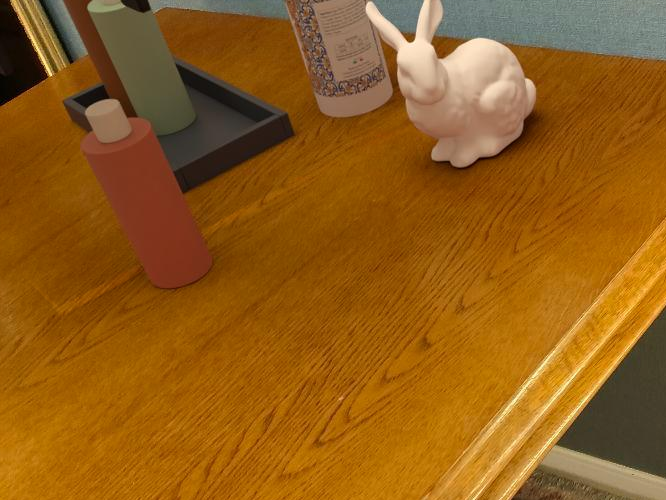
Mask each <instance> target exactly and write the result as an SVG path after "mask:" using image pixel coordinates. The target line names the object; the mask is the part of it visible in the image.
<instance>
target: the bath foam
mask: <svg viewBox="0 0 666 500" xmlns="http://www.w3.org/2000/svg"><path fill="white" fill-rule="evenodd" d="M283 1H284V4H285V7H286V10H287V13H288V17H289V20H290V23H291V26H292V29H293V32H294V35H295V36H294V37H295V39H296V41H297V45H298V48H299V51H300V54H301V57H302V60H303V63H304V67H305V70H306V72H307V75H308V79H309V83H310V85H311V89H312V91H313V94H314V97H315V99H316V103H317V107H318V109H319V111H320V112H321V113H322V114H324V116H325V115H326V116H327V117H328V116H329V117H332V118H349V117H354V116H355V117H356V116H360V115H364V114H367V113H369V112H371V111H374V110H377V109H379V108H380V107H381V106H383V105H385V104H386V103H387V102H388V101H389V100H390V99H391V97H392V96H393V92H394V89H393V85H392V81H391V77H390V74H389V70H388V65H387V62H386V57H385V54H384V51H383V47H382V43H381V39H380V38H381V37H380V34H379V32H378V29H377V28H376V27H375V25H374V24H373V23H372V22H371V20H370V19H369V17H368V16H367V14H366V11H365V10H366V5H367V3H368V2H371V1H370V0H283Z"/></svg>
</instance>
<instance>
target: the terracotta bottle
mask: <svg viewBox="0 0 666 500" xmlns="http://www.w3.org/2000/svg"><path fill="white" fill-rule="evenodd" d="M85 115H86V117H87V119H88V121H89V123H90V125H91V127H92V129H93V131H91V132H90V133H89V132H88V134H87V135H85V136H84V137H83V138H82V140H81V143H80V149H81V151H82V154H83V155H84V157H85V159H86V161H87V163H88V165H89V166H90V168H91V170H92V173H93V174H94V176H95V178H96V180H97V182H98V184H99V186H100V188H101V190H102V191H103V193H104V196H105V198H106V199H107V201H108V203H109V204H110V207H111V209H112V210H113V212H114V214H115V216H116V218H117V220H118V222H119V225H120V226H121V228H122V230H123V231H124V233H125V235H126V238H127V239H128V241H129V243H130V245H131V246H132V249H133V250H134V252H135V255H136V256H137V258H138V260H139V262H140V264H141V266H142V268H143V270H144V272H145V274H146V275H147V277H148V279H149V281H150V283H151V284H152V285H153V286H154V287H157V288H160V289H166V290H167V289H177V288H181V287H184V286H188V285H190V284H193V283H194V282H196V281H198V280H200V279H201V278H202V277H204V276H205V275H206V274H207V273H208V272H209V271H210V270H211V268H212V267H213V256H212V254H211V252H210V250H209V248H208V246H207V243H206V242H205V239H204V237H203V235H202V233H201V230H200V228H199V226H198V224H197V222H196V220H195V217H194V215H193V213H192V211H191V208H190V207H189V204H188V202H187V200H186V197H185V196H184V195H185V194H184V193H182V191H181V189H180V187H179V185H178V182H177V180H176V178H175V176H174V174H173V172H172V169H171V167H170V165H169V163H168V161H167V158H166V156H165V154H164V152H163V150H162V148H161V145H160V143H159V141H158V139H157V137H156V134H155V132H154V130H153V128H152V126H151V124H150V122H149V121H148V120H146V119H143V118H127V117H126V115H125V113H124V111H123V109H122V107H121V105H120V102H119V101H118V100H115V99H107V100H102V101H99V102H96V103H94V104H92V105H91V106H89V107H88V108H87V109H86V111H85Z"/></svg>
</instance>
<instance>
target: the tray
mask: <svg viewBox="0 0 666 500" xmlns="http://www.w3.org/2000/svg"><path fill="white" fill-rule="evenodd" d="M171 56H172V58H173V60H174V63H175V65H176V67H177V70H178V72H179V75H180V77H181V79H182V82H183V84H184V86H185V89H186V91H187V94H188V96H189V98H190V101H191V103H192V105H193V108H194V110H195V113H196V119H195V120H194V122H193V123H192V124H190V125H189V126H188V127H186V128H184V129H183V130H180V131H178V132H175V133H172V134H169V135H163V136H156V137H157V139H158V141H159V143H160V145H161V148H162V150H163V152H164V154H165V156H166V158H167V161H168V163H169V165H170V167H171V169H172V172H173V174H174V176H175V178H176V180H177V182H178V185H179V187H180V189H181V191H182V193H183V194H185V193H187V192H189V191H191V190H192V189H195V188H197V187H199V186H201V185H202V184H204V183H206V182H208V181H210V180H212V179H214V178H216V177H218V176H220V175H221V174H223V173H226V172H227V171H229V170H232V169H233V168H235V167H237V166H239V165H241V164H242V163H244V162H247V161H248V160H250V159H252V158H254V157H256V156H258V155H260V154H262V153H263V152H265V151H267V150H269V149H271V148H273V147H275V146H277V145H278V144H281V143H283V142H285V141H287V140H288V139H290V138H292V137H294V136H295V135H296V134H295V131H294V128H293V126H292V122H291V119H290V117H289V114H288V112H287V111H285V110H283V109H281V108H279V107H277V106H275V105H273V104H271V103H269V102H267V101H265V100H263V99H261V98H260V97H257V96H255V95H253V94H251V93H249V92H247V91H245V90H243V89H241V88H240V87H237V86H235V85H234V84H231V83H229V82H227V81H225V80H224V79H221V78H219V77H218V76H215V75H213V74H211V73H209V72H207V71H205V70H203V69H201V68H199V67H197V66H195V65H193V64H192V63H189V62H187V61H185V60H184V59H181V58H179V57H177V56H176V55H174V54H171ZM107 99H110V98H109V95H108V93H107V91H106V89H105V87H104V85H103V83H102V81H100V82H98V83H96V84H94V85H92V86H90V87H87V88H85V89H83V90H81V91H79V92H77V93H75V94H72V95H69V96H68V97H66V98H63V99H62V100H61V102H62V105H63V106H64V108H65V110H66V112H67V114H68V116H69V118H70V120H71V121H72V123H74V124H76V125H77V126H79V127H81V128H82V129H83V130H85V131H87V132H88V134H89V133H90V132H91V131H93V129H92V127H91V125H90V123H89V121H88V119H87V117H86V115H85V111H86V109H87V108H88V107H89V106H91V105H92V104H94V103H96V102H99V101H102V100H107Z"/></svg>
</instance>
